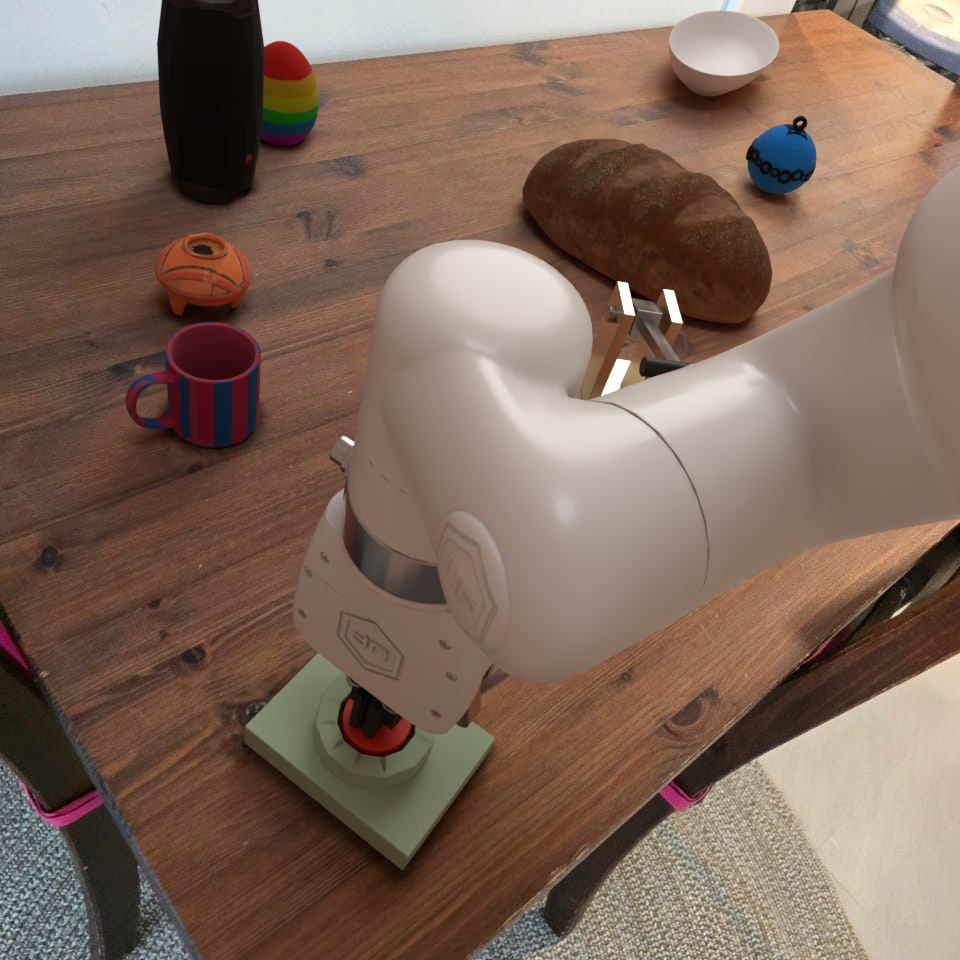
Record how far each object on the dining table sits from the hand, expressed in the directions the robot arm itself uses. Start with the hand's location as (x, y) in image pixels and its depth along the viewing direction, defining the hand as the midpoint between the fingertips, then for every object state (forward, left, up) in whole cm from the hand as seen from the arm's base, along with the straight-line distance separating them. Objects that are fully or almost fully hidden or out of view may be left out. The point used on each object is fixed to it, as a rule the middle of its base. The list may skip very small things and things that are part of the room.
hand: (376, 713), depth 51 cm
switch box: (0, 0, -4) cm, 4 cm away
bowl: (+27, -117, -4) cm, 120 cm away
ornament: (+8, -93, -4) cm, 93 cm away
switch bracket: (+4, -39, -4) cm, 39 cm away
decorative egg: (+53, -50, -4) cm, 73 cm away
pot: (+37, -23, -4) cm, 44 cm away
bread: (+13, -63, -4) cm, 64 cm away
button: (0, 0, -2) cm, 2 cm away
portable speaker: (+50, -37, -4) cm, 62 cm away
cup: (+27, -12, -4) cm, 30 cm away
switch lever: (+1, -35, +6) cm, 36 cm away
